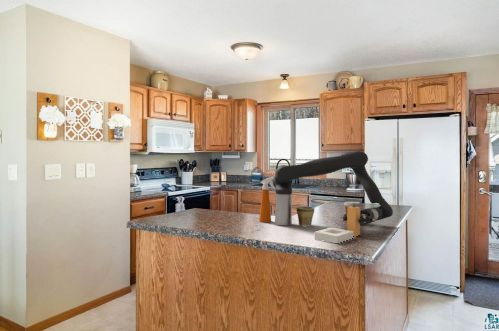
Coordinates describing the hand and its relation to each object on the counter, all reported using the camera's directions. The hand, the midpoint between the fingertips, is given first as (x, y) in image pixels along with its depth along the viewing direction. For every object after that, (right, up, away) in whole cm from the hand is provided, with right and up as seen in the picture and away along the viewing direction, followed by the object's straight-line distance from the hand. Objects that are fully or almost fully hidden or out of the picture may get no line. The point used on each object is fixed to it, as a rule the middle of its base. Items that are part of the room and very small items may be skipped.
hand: (351, 219), depth 168 cm
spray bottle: (-39, -7, +35) cm, 53 cm away
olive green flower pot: (-18, -7, +26) cm, 33 cm away
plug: (+1, -8, +2) cm, 8 cm away
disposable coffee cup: (+10, -7, +33) cm, 35 cm away
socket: (-10, -8, -5) cm, 14 cm away
